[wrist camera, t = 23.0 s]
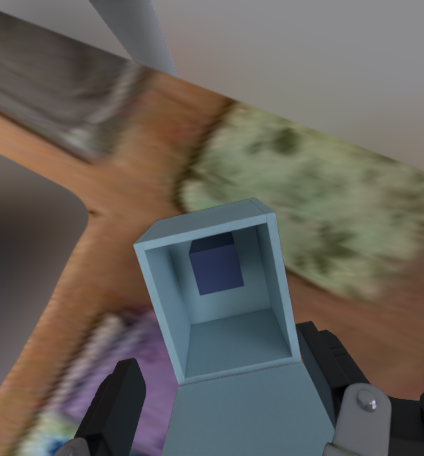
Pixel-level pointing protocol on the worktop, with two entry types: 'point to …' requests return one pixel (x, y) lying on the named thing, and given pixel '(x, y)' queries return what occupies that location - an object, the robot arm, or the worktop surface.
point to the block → (215, 263)
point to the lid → (250, 416)
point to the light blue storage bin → (220, 294)
